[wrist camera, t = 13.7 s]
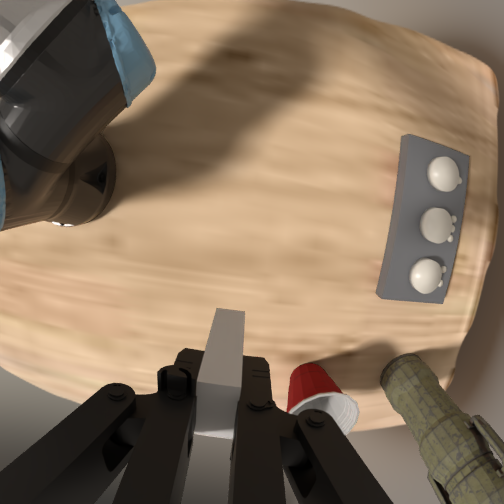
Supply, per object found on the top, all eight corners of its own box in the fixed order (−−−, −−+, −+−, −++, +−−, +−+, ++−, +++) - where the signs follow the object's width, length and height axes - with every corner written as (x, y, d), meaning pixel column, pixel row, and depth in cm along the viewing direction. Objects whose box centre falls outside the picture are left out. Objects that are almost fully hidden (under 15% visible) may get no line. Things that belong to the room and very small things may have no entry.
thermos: (370, 399, 48) (443, 555, 14) (392, 345, 45) (508, 501, 11) (408, 398, 48) (489, 531, 14) (431, 346, 46) (547, 474, 11)
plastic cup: (341, 393, 47) (360, 439, 36) (280, 405, 48) (287, 455, 36) (338, 342, 45) (361, 386, 33) (271, 356, 45) (276, 405, 34)
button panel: (375, 293, 43) (382, 299, 41) (401, 136, 38) (410, 133, 36) (435, 298, 44) (443, 304, 41) (460, 156, 39) (470, 156, 36)
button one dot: (417, 186, 39) (431, 187, 35) (421, 154, 38) (435, 152, 34) (442, 193, 39) (457, 195, 36) (446, 162, 38) (460, 161, 35)
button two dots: (399, 284, 42) (411, 292, 39) (406, 252, 41) (419, 258, 38) (424, 286, 43) (436, 294, 39) (431, 256, 42) (445, 262, 38)
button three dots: (410, 236, 41) (422, 240, 37) (415, 203, 40) (429, 205, 36) (435, 241, 41) (448, 245, 37) (440, 209, 40) (454, 212, 36)
